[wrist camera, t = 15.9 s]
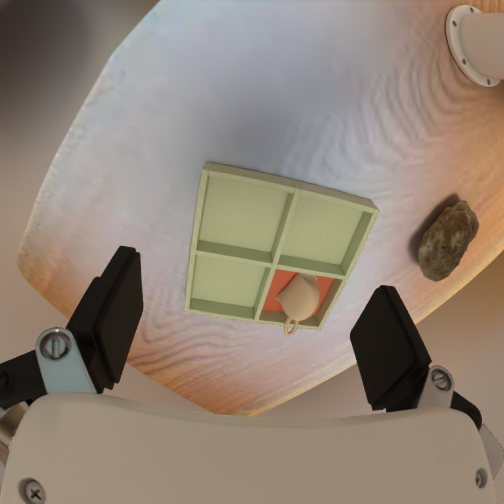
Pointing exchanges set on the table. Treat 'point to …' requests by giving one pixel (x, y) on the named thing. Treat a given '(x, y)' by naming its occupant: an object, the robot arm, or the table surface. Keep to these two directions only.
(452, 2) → the table surface
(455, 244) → the stone
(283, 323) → the grid
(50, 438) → the robot arm
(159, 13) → the table surface
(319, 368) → the table surface
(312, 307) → the decorative ornament
